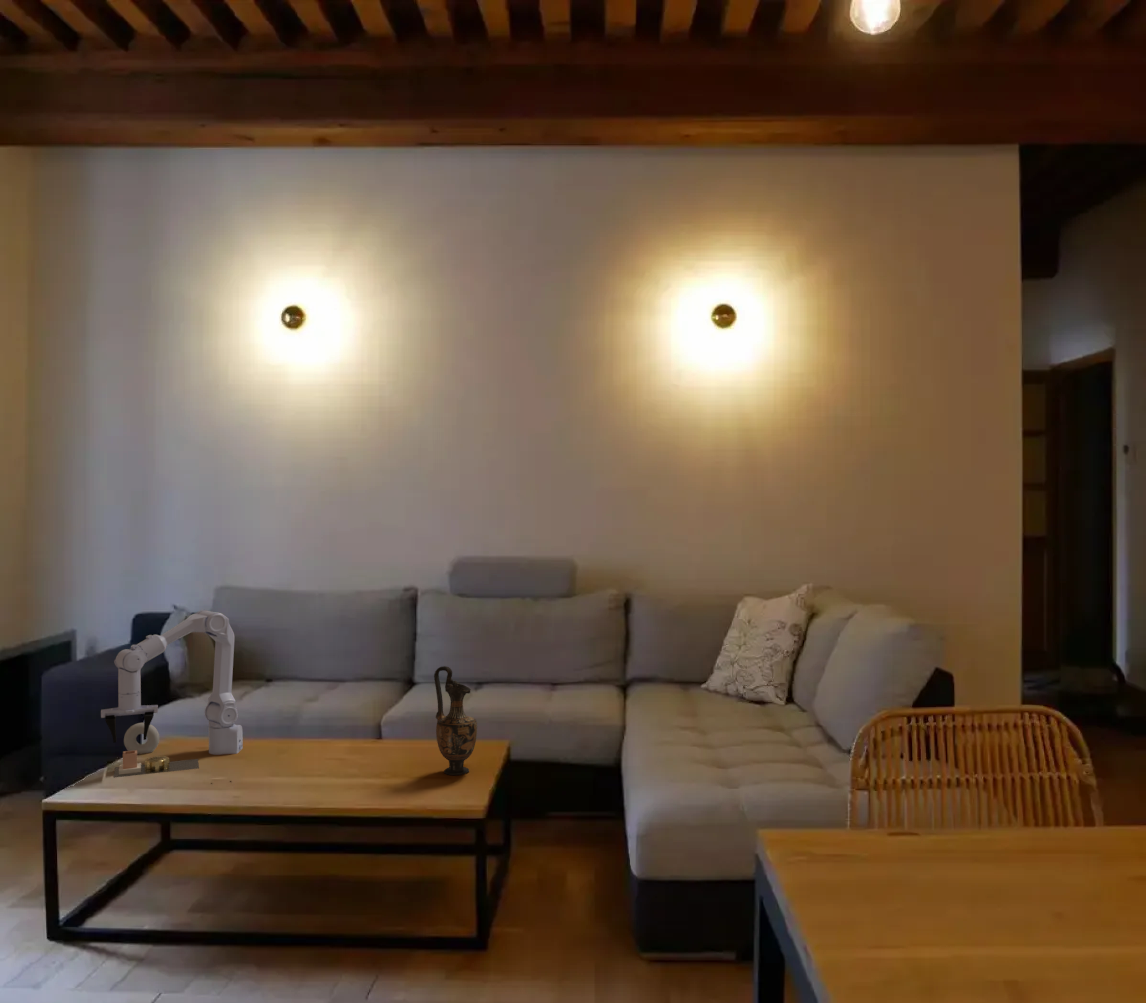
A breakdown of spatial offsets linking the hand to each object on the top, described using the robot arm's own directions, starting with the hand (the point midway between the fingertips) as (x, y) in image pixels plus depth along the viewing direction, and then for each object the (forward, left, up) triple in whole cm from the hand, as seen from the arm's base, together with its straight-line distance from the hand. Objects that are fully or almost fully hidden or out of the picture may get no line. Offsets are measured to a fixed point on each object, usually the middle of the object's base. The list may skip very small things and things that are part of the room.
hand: (130, 740), depth 267 cm
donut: (+4, -19, -10) cm, 22 cm away
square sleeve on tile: (0, 0, -9) cm, 9 cm away
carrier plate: (-7, -2, -10) cm, 12 cm away
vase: (-92, +2, -10) cm, 92 cm away
